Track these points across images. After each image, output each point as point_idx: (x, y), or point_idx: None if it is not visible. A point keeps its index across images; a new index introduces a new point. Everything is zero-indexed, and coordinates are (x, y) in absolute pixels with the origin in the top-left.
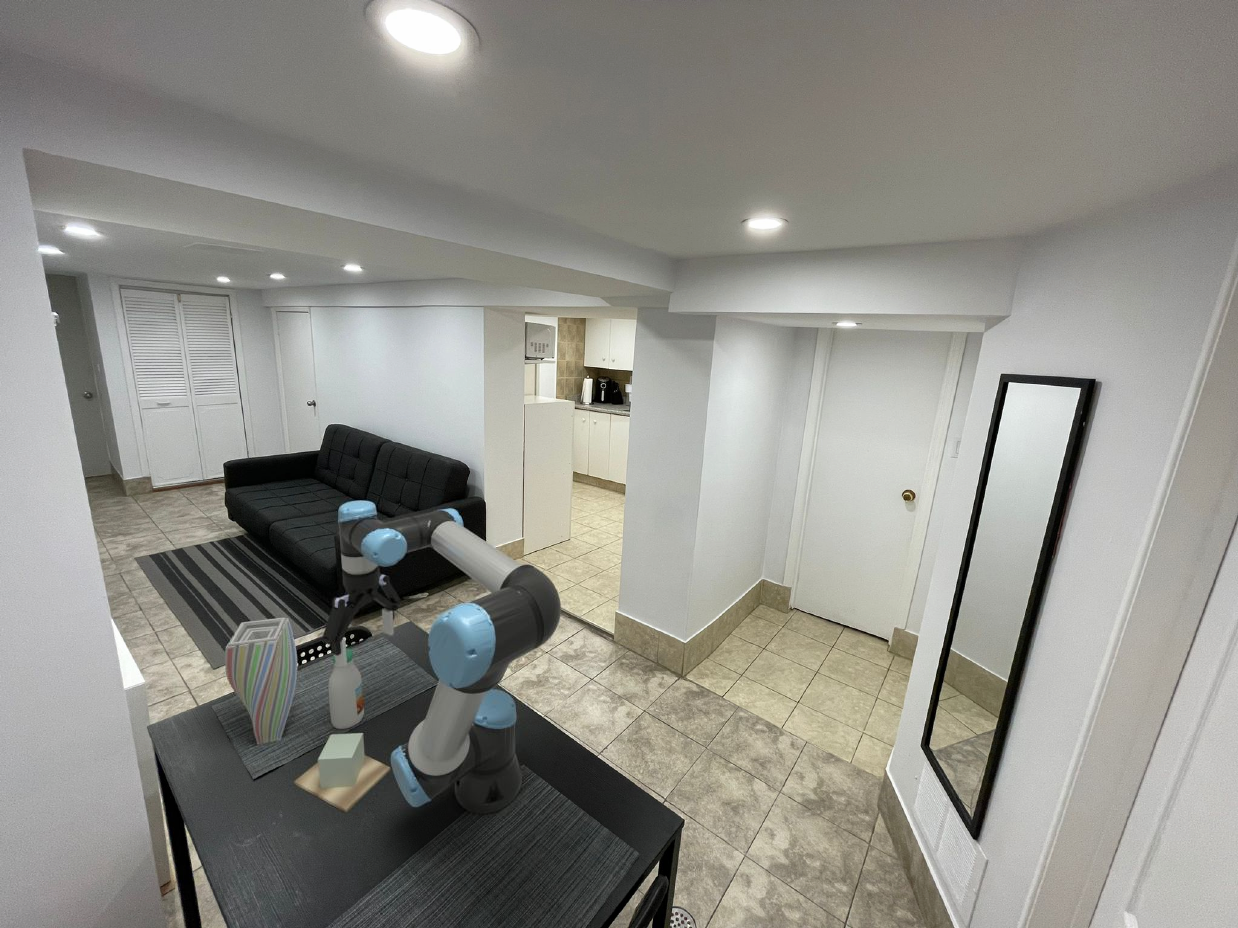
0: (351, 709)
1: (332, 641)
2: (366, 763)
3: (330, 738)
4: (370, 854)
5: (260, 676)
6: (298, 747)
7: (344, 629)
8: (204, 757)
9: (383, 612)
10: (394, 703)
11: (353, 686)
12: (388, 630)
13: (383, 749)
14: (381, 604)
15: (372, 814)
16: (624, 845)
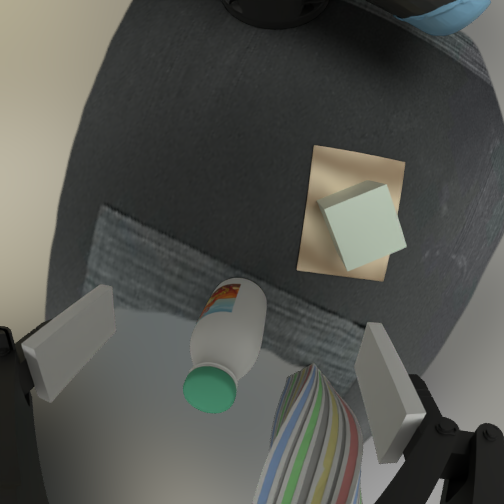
0: (248, 296)
1: (494, 435)
2: (320, 193)
3: (356, 264)
4: (436, 88)
5: (360, 470)
6: (319, 329)
7: (422, 478)
8: (362, 413)
9: (56, 385)
10: (175, 249)
11: (232, 318)
12: (103, 310)
13: (278, 189)
14: (33, 425)
15: (392, 120)
16: None
